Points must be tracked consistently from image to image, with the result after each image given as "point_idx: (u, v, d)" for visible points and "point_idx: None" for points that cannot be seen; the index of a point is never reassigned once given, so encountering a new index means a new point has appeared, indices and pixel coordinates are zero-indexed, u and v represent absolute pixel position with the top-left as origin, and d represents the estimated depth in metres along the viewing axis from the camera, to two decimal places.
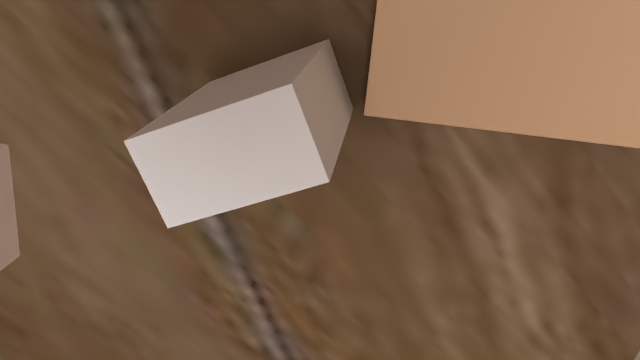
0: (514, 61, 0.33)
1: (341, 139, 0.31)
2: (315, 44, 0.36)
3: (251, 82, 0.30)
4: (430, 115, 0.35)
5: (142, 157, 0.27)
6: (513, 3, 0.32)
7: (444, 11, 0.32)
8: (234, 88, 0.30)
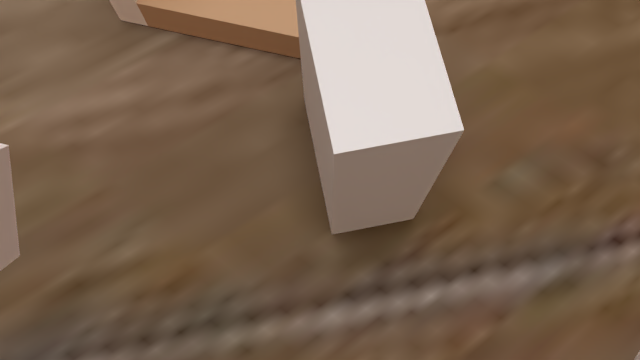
0: None
1: None
2: (306, 110, 0.35)
3: (310, 88, 0.27)
4: None
5: (359, 136, 0.21)
6: None
7: None
8: (314, 106, 0.27)
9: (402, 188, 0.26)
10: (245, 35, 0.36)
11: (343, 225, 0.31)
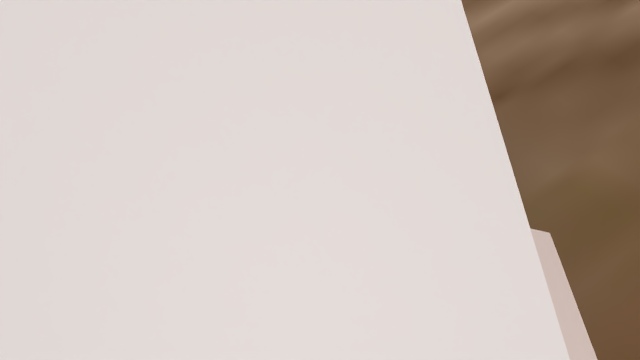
0: None
1: None
2: None
3: None
4: None
5: None
6: None
7: None
8: None
9: None
10: None
11: None
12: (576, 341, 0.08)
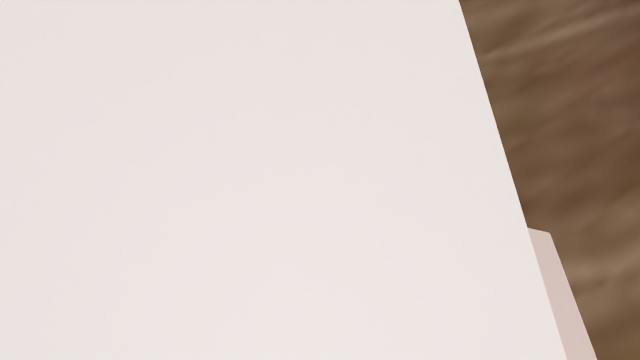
0: None
1: None
2: None
3: None
4: None
5: None
6: None
7: None
8: None
9: None
10: None
11: None
12: (576, 340, 0.08)
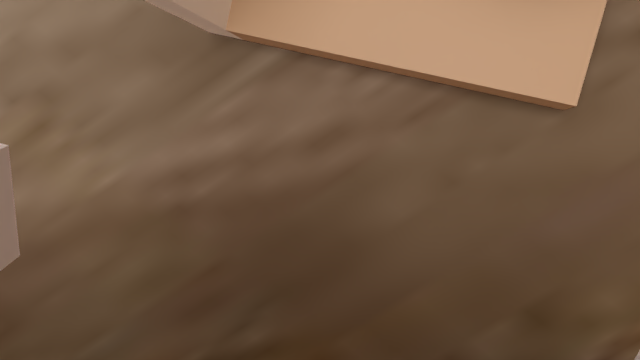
0: None
1: None
2: None
3: None
4: (592, 3, 0.23)
5: None
6: None
7: None
8: None
9: None
10: (374, 65, 0.26)
11: None
12: None
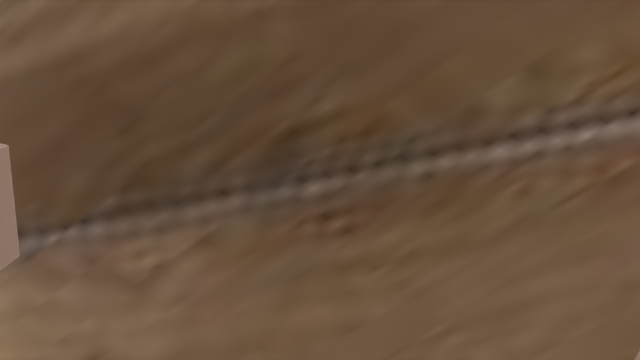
0: None
1: None
2: None
3: None
4: None
5: None
6: None
7: None
8: None
9: None
10: None
11: None
12: None
